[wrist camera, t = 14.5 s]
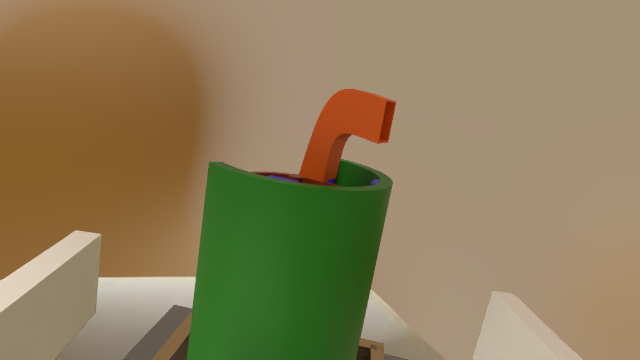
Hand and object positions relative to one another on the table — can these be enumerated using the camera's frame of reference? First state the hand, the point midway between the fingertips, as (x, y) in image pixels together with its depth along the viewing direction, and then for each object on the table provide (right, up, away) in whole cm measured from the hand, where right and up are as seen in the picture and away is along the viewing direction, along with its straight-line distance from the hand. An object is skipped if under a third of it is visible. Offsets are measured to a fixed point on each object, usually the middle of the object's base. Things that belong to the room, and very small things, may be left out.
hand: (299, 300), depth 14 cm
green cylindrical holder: (-2, -11, +11) cm, 16 cm away
